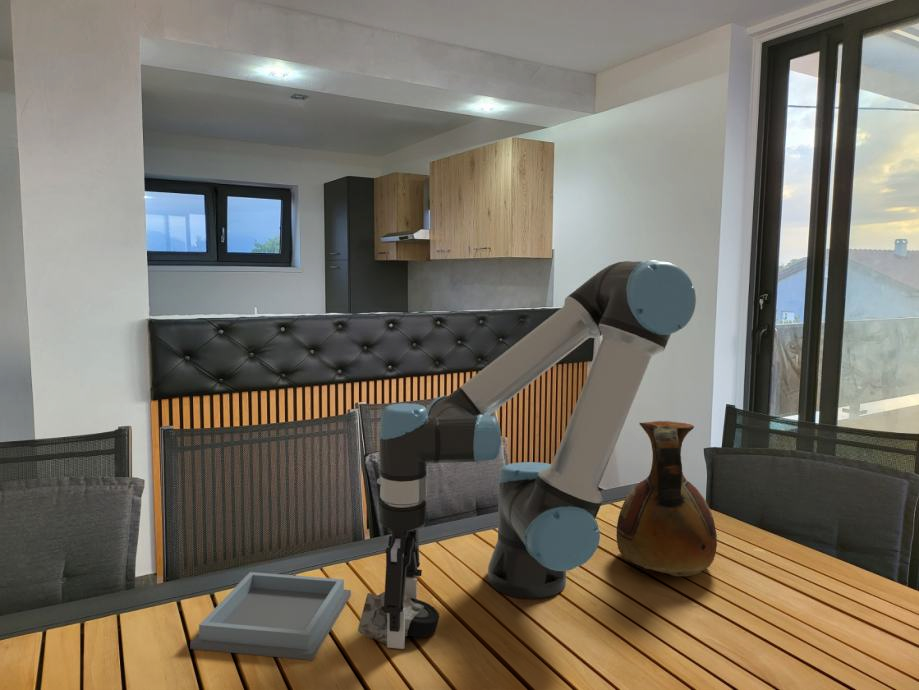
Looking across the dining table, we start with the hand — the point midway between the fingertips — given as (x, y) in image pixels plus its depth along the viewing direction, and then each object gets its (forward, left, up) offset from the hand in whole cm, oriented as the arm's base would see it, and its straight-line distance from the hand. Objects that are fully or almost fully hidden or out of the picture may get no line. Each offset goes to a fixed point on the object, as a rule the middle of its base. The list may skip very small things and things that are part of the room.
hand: (402, 629), depth 107 cm
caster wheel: (0, 0, 0) cm, 0 cm away
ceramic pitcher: (-48, -32, -1) cm, 58 cm away
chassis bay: (+22, 0, 0) cm, 22 cm away
